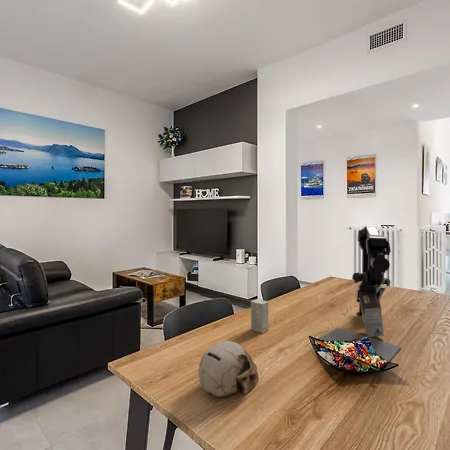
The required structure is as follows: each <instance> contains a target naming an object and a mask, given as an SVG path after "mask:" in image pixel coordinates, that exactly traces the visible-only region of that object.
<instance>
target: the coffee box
mask: <svg viewBox="0 0 450 450" xmlns="http://www.w3.org/2000/svg"><path fill="white" fill-rule="evenodd" d="M359 297H360V298H359V299H360V304H361V310H362V315H361V316H362V320H363V321H362V322H363V326H364V330H365V333H366V336H367V337H370V338H374V337H383V336H385V334H384V326H383V325H384V323H383V315H382V314H383V313H382V305H381V303H380V300H379V299H378V296H377V293H369V292H359Z"/></svg>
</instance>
